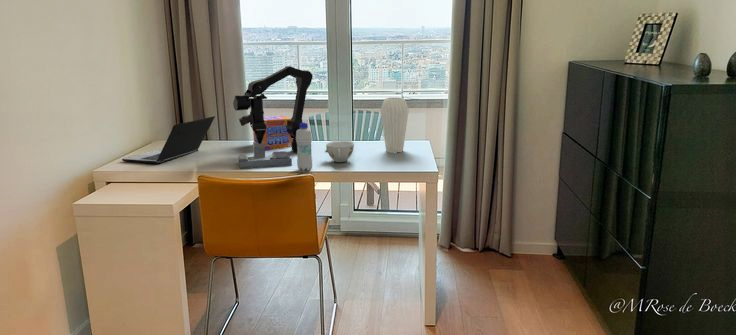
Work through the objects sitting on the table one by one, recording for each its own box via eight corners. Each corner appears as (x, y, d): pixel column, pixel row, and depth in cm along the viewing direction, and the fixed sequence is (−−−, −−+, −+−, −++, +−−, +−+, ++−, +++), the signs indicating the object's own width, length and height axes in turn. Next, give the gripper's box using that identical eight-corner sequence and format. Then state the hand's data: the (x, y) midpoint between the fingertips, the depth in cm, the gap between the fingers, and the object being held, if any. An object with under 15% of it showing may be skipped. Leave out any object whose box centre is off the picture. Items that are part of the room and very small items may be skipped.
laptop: (165, 150, 275) (162, 114, 271) (218, 153, 265) (215, 116, 261) (121, 161, 248) (116, 121, 244) (178, 165, 237) (174, 124, 233)
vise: (289, 158, 248) (289, 150, 247) (294, 165, 235) (293, 156, 234) (238, 162, 242) (238, 153, 241) (240, 168, 229) (239, 159, 228)
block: (264, 155, 256) (263, 141, 255) (265, 157, 252) (264, 142, 251) (253, 156, 255) (252, 142, 254) (254, 158, 251) (253, 143, 249)
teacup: (327, 158, 250) (327, 141, 248) (354, 158, 249) (354, 141, 248) (324, 165, 235) (324, 147, 233) (353, 164, 235) (352, 146, 233)
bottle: (307, 167, 231) (305, 121, 226) (316, 169, 225) (314, 122, 221) (293, 169, 227) (292, 122, 222) (302, 172, 221) (300, 124, 217)
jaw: (285, 159, 247) (285, 151, 246) (289, 164, 236) (288, 155, 236) (272, 160, 245) (272, 151, 244) (275, 165, 235) (274, 156, 234)
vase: (399, 149, 270) (400, 96, 264) (413, 153, 258) (413, 98, 253) (376, 151, 264) (375, 97, 259) (388, 156, 253) (388, 100, 247)
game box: (253, 146, 280) (252, 117, 277) (282, 144, 288) (280, 115, 285) (263, 151, 267) (262, 120, 264) (293, 148, 275) (291, 118, 271)
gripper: (238, 107, 255) (240, 140, 259) (240, 112, 238) (242, 146, 241) (261, 106, 258) (263, 138, 262) (265, 110, 241) (267, 145, 244)
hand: (258, 142), depth 252 cm, fingers open, 9 cm apart
